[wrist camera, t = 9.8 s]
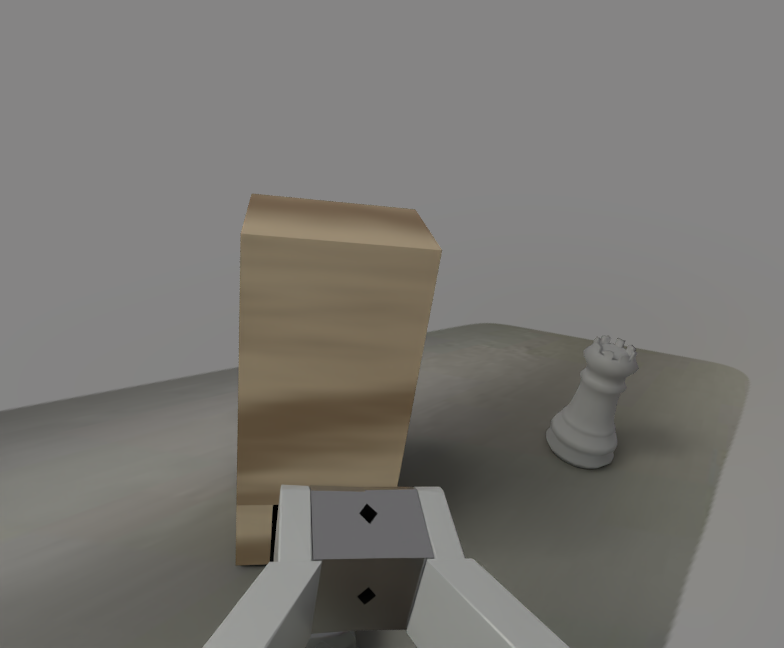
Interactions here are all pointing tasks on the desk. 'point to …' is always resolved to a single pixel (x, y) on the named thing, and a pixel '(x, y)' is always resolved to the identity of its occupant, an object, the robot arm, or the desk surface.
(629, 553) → the desk surface
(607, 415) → the rook chess piece
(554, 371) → the desk surface
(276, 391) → the tall wooden block
